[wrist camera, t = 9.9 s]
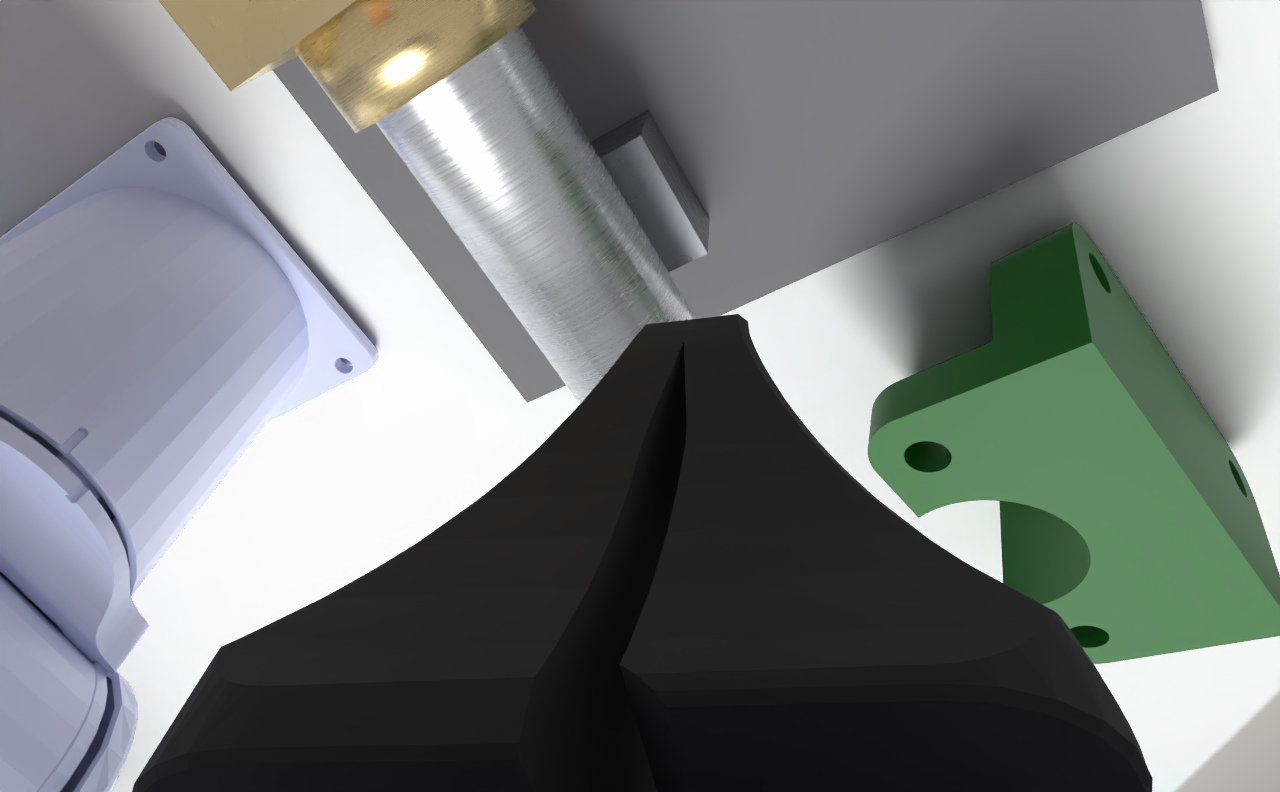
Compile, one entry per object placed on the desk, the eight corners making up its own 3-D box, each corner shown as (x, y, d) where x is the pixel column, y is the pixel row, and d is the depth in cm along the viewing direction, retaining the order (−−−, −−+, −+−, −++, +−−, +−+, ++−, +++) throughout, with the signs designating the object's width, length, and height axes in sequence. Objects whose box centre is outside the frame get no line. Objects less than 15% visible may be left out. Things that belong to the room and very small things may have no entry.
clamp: (905, 284, 26) (810, 379, 19) (1089, 191, 22) (1051, 268, 16) (1076, 585, 26) (1042, 776, 20) (1281, 540, 23) (1320, 753, 16)
